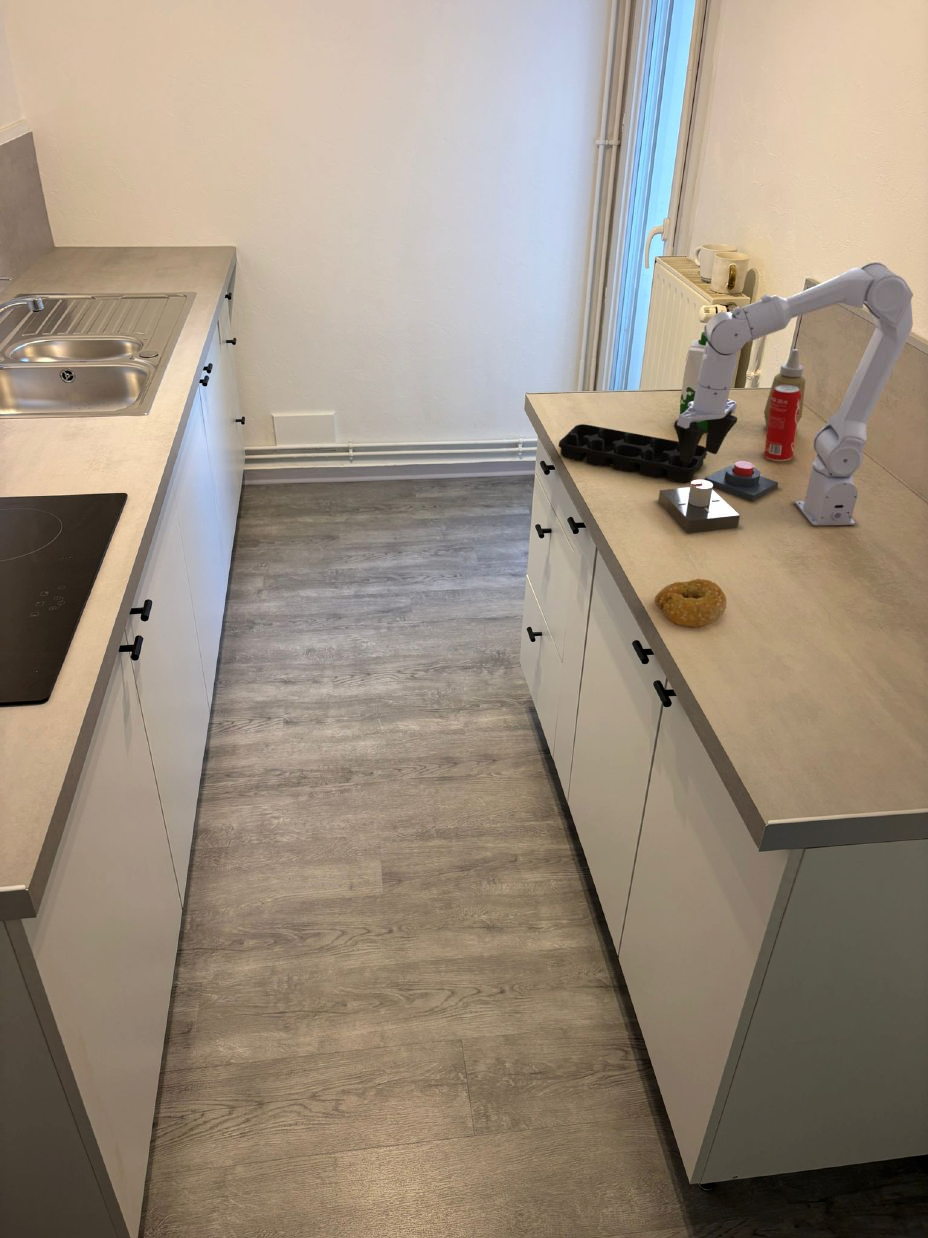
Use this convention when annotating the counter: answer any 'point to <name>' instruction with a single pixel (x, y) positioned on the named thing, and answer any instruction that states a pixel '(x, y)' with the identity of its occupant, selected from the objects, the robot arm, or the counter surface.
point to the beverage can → (782, 422)
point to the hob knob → (700, 493)
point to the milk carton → (693, 375)
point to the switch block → (742, 483)
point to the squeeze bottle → (788, 381)
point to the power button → (743, 468)
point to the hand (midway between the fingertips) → (698, 456)
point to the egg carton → (630, 452)
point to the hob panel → (698, 511)
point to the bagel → (692, 602)
